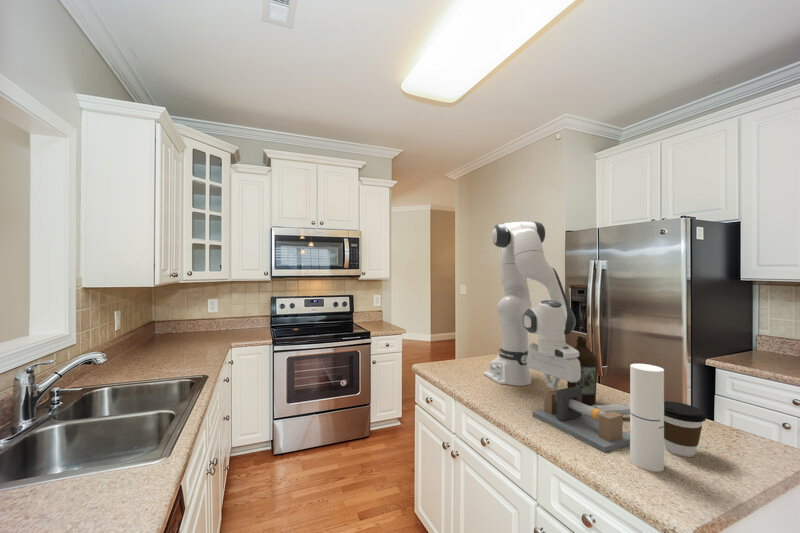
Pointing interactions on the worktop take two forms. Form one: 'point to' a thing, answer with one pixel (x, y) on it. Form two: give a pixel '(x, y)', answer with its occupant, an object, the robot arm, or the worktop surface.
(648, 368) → the cylindrical container
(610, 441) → the pipe stand
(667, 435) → the coffee cup
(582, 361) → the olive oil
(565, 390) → the collar
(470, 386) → the worktop surface
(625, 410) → the electric toothbrush
